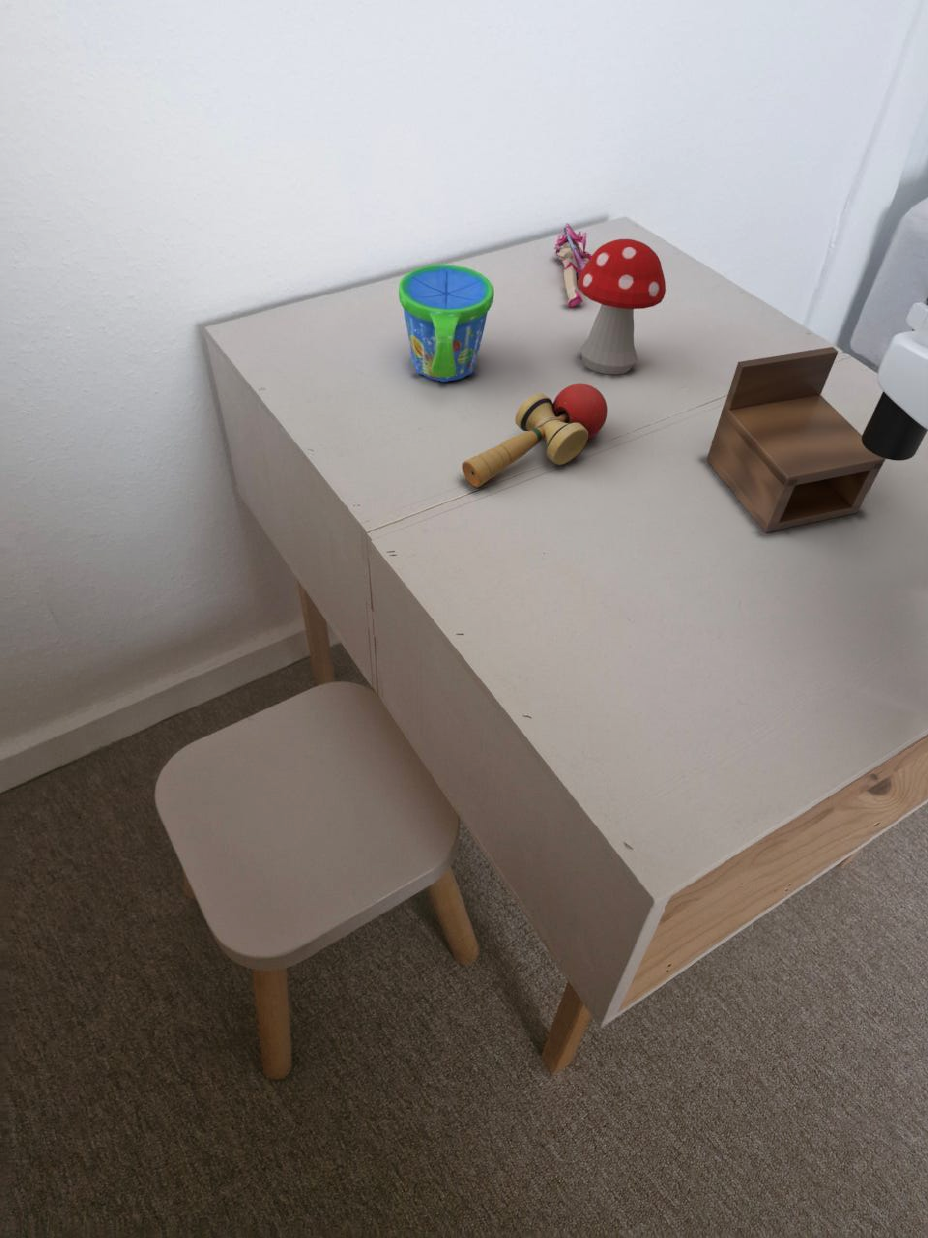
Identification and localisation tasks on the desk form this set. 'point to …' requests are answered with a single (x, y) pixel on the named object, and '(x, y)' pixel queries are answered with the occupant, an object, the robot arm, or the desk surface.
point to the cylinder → (892, 431)
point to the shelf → (790, 443)
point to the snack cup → (445, 318)
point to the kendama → (545, 430)
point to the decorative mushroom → (619, 301)
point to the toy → (572, 261)
